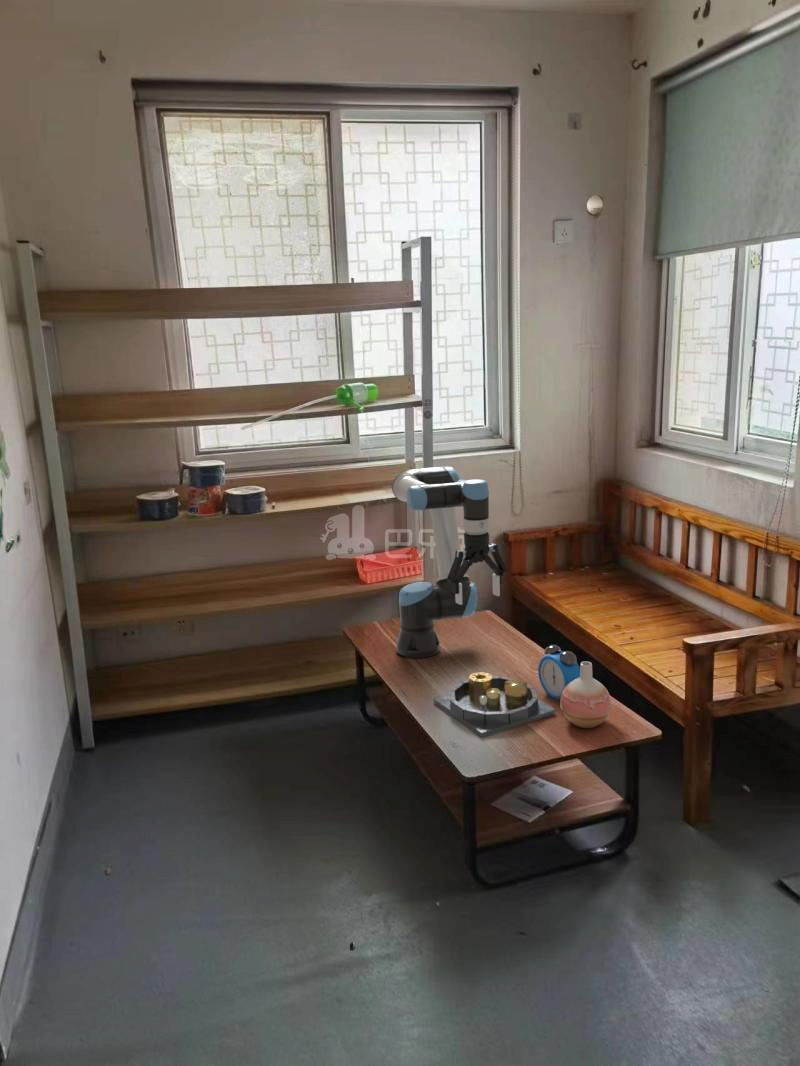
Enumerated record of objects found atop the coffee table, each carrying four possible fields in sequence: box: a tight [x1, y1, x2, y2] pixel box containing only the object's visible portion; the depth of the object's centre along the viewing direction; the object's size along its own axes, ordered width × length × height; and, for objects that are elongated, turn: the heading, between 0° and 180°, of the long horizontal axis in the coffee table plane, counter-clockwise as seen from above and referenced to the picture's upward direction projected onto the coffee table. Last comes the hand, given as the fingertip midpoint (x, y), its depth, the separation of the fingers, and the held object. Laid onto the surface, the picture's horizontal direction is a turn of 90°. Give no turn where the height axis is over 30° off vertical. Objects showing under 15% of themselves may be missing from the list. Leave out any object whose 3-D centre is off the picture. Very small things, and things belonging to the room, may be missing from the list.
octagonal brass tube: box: [468, 671, 493, 701], centre depth 235 cm, size 6×6×6 cm
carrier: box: [433, 675, 557, 738], centre depth 230 cm, size 25×25×8 cm
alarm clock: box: [537, 644, 580, 700], centre depth 235 cm, size 13×6×15 cm, turn 30°
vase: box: [559, 660, 613, 729], centre depth 218 cm, size 14×14×18 cm
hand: (477, 599), depth 244 cm, fingers open, 13 cm apart
